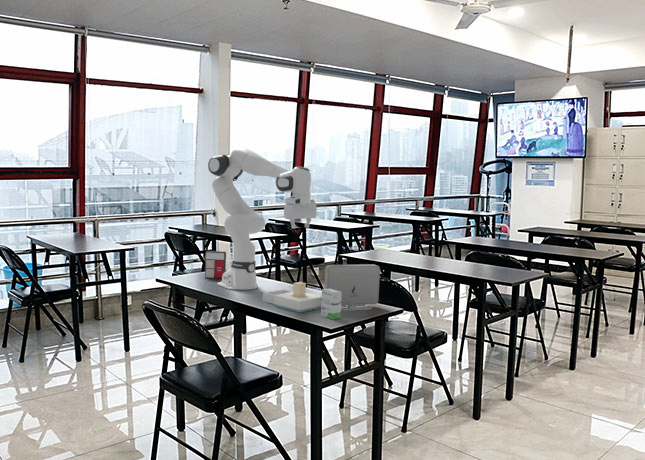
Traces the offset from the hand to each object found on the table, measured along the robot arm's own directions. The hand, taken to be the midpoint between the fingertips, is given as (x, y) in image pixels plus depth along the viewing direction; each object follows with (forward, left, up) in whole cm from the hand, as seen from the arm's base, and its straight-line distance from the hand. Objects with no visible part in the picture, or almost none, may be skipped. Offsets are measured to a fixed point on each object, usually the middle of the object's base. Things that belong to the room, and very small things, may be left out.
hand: (300, 227), depth 294 cm
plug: (+17, -17, -33) cm, 41 cm away
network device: (+34, 0, -34) cm, 48 cm away
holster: (+2, -15, -34) cm, 37 cm away
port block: (+17, -17, -34) cm, 42 cm away
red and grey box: (-62, -3, -34) cm, 71 cm away
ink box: (+39, -20, -34) cm, 56 cm away
